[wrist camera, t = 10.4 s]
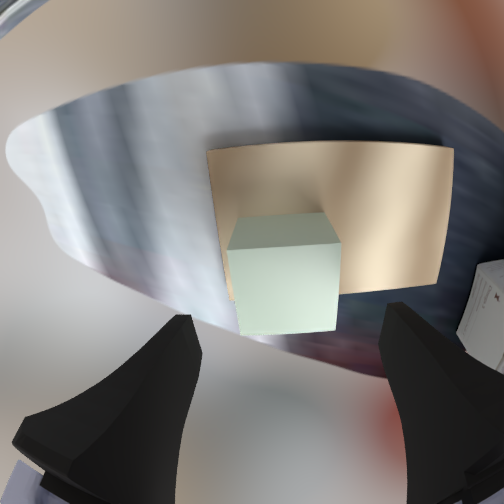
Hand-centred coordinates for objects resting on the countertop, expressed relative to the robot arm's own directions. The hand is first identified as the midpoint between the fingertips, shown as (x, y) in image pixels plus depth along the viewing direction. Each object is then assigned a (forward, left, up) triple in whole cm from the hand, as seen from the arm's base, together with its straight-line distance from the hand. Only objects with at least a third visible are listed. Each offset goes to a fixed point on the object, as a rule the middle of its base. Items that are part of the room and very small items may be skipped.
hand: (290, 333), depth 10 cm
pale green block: (0, 0, -7) cm, 7 cm away
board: (-3, -1, -8) cm, 9 cm away
